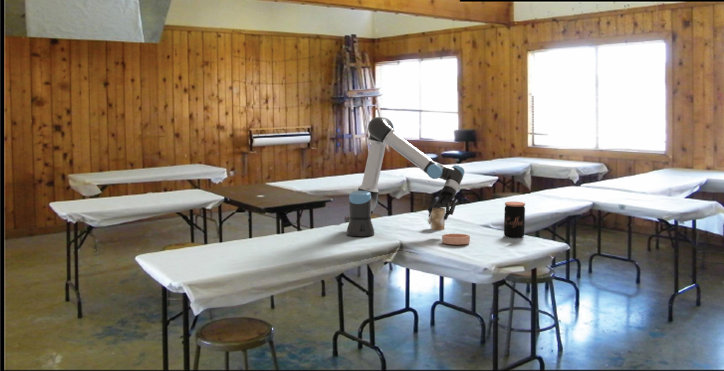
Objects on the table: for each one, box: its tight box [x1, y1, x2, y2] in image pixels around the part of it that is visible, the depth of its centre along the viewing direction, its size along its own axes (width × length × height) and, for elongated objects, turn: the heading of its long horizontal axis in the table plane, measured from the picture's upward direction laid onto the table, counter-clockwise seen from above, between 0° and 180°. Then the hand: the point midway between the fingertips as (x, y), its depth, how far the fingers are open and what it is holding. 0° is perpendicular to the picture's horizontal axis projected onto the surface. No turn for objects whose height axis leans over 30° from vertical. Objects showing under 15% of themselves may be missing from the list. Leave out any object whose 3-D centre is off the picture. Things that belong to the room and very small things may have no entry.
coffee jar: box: [503, 201, 526, 239], centre depth 358 cm, size 11×11×18 cm
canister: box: [431, 207, 446, 231], centre depth 350 cm, size 7×7×11 cm
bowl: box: [441, 233, 471, 246], centre depth 339 cm, size 14×14×4 cm
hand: (435, 223), depth 347 cm, fingers closed on canister, 6 cm apart
